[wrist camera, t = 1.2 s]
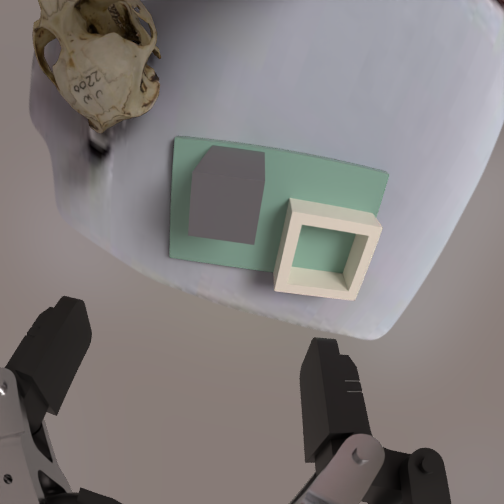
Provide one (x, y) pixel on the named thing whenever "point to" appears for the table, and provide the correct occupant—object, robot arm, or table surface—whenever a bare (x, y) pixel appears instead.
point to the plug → (227, 195)
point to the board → (276, 207)
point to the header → (318, 280)
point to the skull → (100, 57)
